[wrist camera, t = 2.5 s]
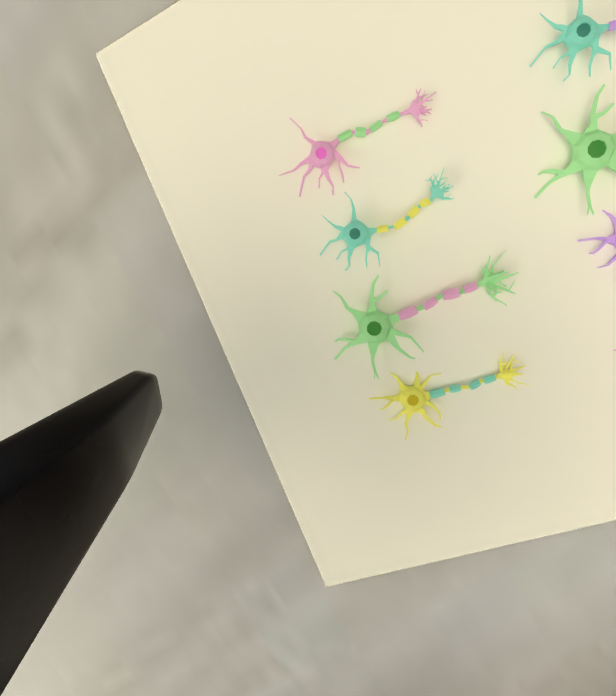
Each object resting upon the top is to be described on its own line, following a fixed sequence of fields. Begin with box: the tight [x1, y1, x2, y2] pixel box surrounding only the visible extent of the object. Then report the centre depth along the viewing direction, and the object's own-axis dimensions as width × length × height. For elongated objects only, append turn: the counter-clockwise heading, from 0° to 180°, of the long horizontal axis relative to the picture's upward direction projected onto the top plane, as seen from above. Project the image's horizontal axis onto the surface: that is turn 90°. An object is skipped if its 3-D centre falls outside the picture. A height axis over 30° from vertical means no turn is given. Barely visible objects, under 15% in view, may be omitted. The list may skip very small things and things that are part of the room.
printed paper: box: [95, 0, 616, 587], centre depth 21 cm, size 30×30×2 cm
